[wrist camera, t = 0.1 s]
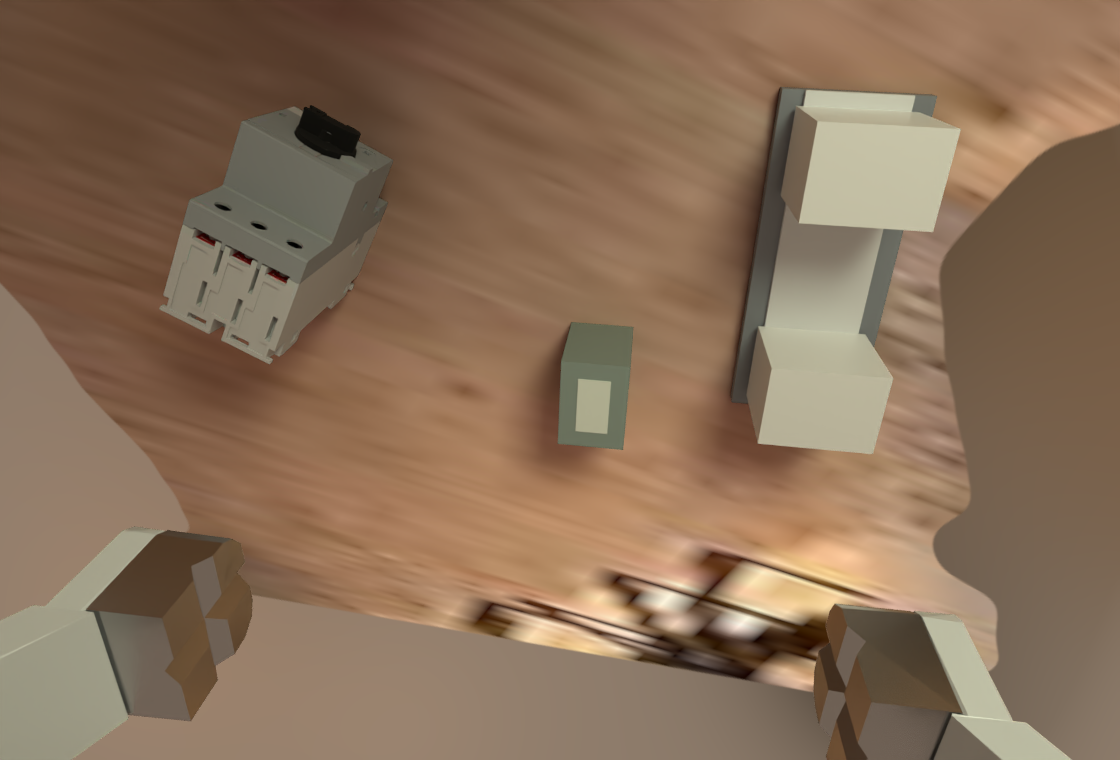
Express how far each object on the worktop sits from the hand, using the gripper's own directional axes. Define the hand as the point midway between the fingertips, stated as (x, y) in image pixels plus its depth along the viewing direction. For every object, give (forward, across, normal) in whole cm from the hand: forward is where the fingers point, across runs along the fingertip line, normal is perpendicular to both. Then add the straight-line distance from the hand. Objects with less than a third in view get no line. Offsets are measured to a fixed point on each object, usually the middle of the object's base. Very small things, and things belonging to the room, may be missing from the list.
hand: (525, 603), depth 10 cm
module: (+48, +1, +19) cm, 52 cm away
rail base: (+48, -15, +9) cm, 51 cm away
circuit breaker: (+48, +22, +6) cm, 53 cm away
